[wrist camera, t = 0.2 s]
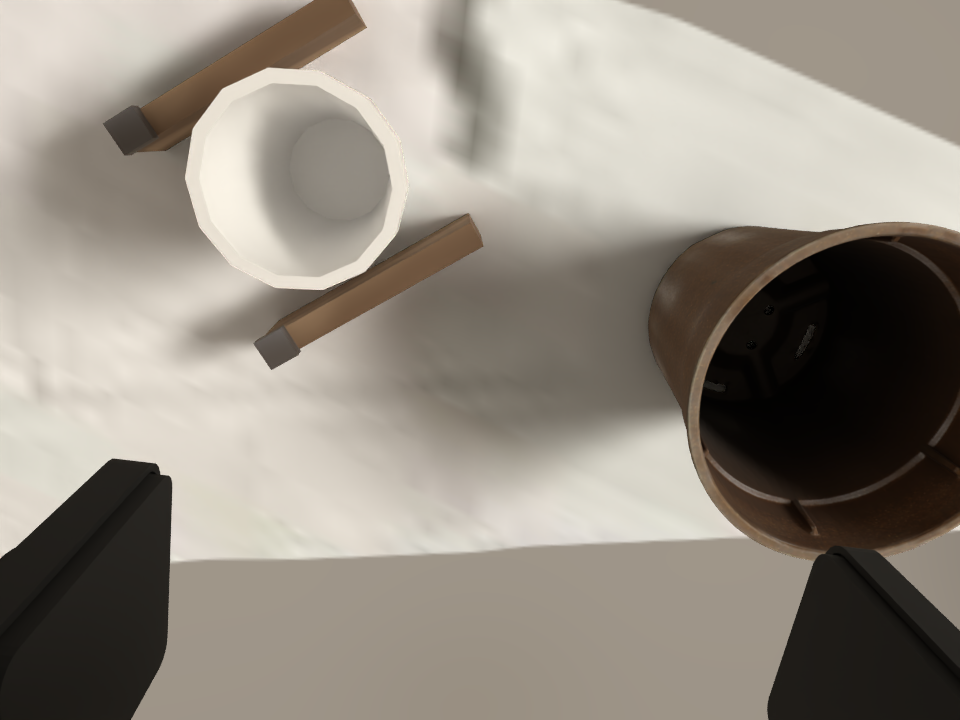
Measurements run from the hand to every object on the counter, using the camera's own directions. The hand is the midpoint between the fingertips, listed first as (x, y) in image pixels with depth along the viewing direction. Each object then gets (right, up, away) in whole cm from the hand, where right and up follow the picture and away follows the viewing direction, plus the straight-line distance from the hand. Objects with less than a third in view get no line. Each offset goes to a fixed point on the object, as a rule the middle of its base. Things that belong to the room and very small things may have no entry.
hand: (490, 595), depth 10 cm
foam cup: (-9, +15, +33) cm, 37 cm away
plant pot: (+17, +6, +37) cm, 41 cm away
